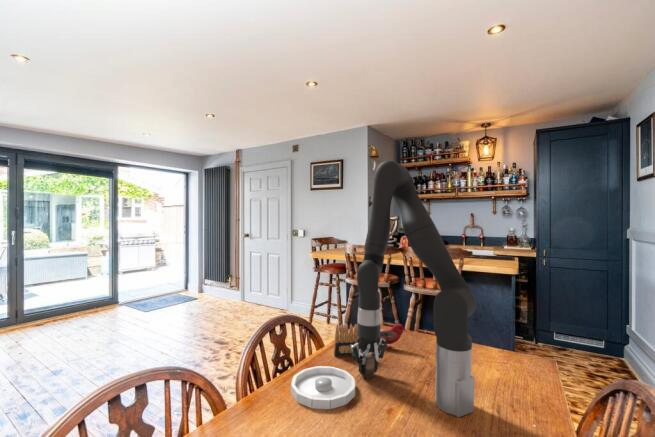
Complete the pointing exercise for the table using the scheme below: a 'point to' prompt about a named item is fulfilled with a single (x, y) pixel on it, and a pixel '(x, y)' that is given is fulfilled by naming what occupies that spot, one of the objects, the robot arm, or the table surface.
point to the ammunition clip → (345, 340)
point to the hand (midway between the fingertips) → (368, 372)
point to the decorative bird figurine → (392, 334)
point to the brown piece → (369, 366)
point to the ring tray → (323, 387)
